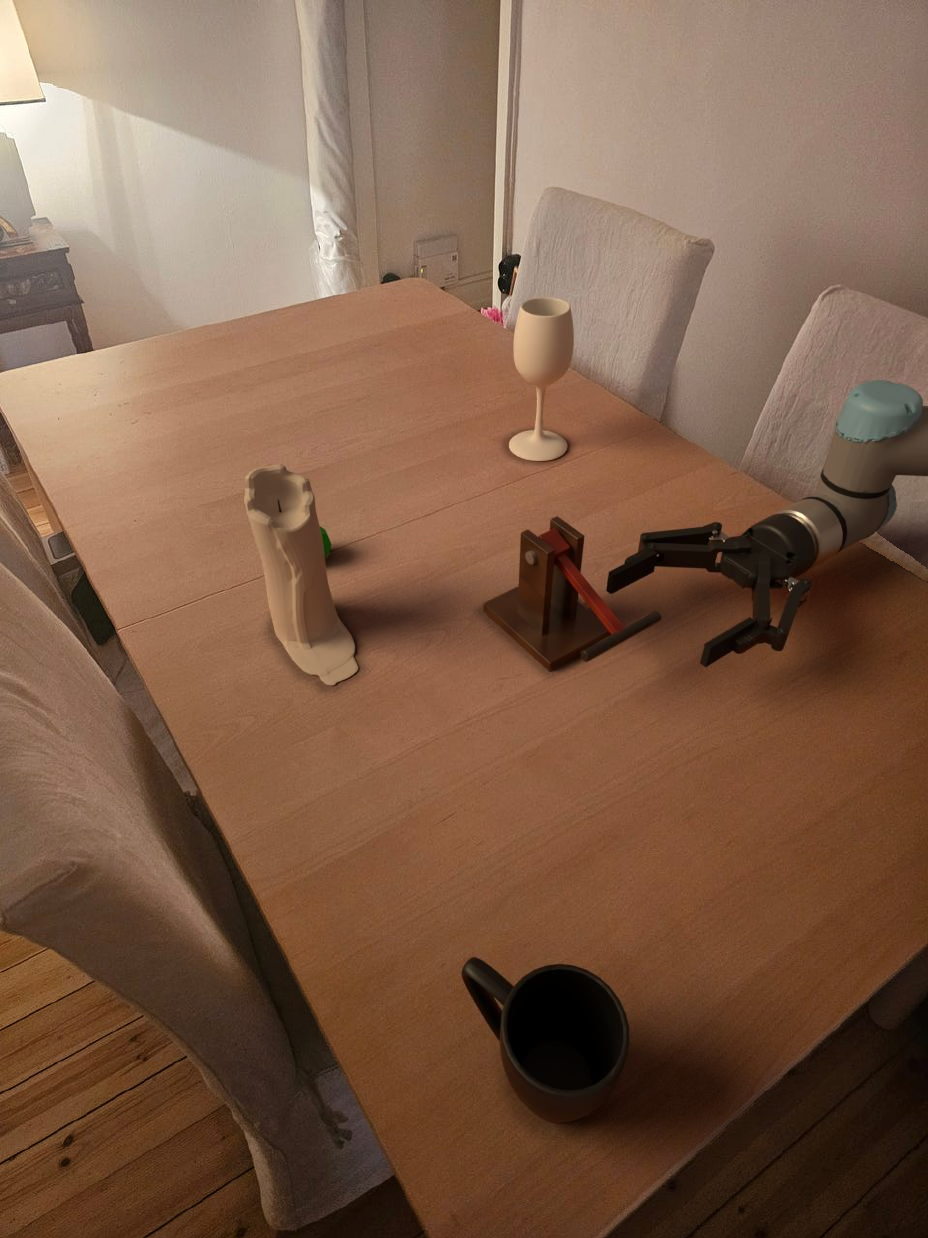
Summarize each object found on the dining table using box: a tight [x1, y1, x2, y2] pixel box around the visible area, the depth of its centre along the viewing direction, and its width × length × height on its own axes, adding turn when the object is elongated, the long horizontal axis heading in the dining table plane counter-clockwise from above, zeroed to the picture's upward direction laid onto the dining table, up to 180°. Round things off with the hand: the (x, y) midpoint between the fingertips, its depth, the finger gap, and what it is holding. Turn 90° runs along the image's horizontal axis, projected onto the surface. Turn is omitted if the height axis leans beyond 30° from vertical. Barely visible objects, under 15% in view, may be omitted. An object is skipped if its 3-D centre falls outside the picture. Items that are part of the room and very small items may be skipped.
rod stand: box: [482, 515, 612, 672], centre depth 89 cm, size 12×9×13 cm
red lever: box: [538, 528, 662, 663], centre depth 84 cm, size 14×10×2 cm
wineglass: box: [508, 296, 575, 462], centre depth 115 cm, size 9×9×21 cm
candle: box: [243, 463, 359, 686], centre depth 85 cm, size 7×14×20 cm, turn 32°
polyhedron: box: [319, 525, 332, 559], centre depth 101 cm, size 5×5×5 cm
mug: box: [461, 956, 631, 1124], centre depth 56 cm, size 8×12×10 cm
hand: (654, 617), depth 84 cm, fingers open, 13 cm apart
